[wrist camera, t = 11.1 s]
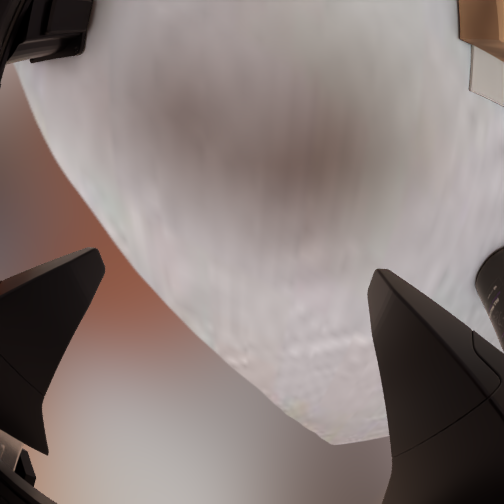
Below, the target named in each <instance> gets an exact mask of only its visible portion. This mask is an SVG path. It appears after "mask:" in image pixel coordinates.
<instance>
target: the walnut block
mask: <svg viewBox="0 0 504 504" xmlns="http://www.w3.org/2000/svg"><path fill="white" fill-rule="evenodd" d="M459 13H460V39H461V40H463V41H465V42H468V43H470V44H472V45H474V46H476V47H478V48H480V49H481V50H483V51H485V52H487V53H489V54H491V55H492V56H494V57H496V58H498V59H499V60H501V61H503V62H504V0H459Z"/></svg>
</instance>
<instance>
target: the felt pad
mask: <svg viewBox="0 0 504 504" xmlns="http://www.w3.org/2000/svg"><path fill="white" fill-rule="evenodd" d="M469 91H472V92H474V93H476V94H479V95H481V96H483V97H485V98H487V99H489V100H491V101H493V102H495V103H497V104H499V105H501V106H503V107H504V62H503V61H501V60H499V59H498V58H496V57H494V56H492V55H491V54H489V53H487V52H485V51H483V50H481V49H480V48H478V47H476V46H474V45H472V46H471V73H470V85H469Z"/></svg>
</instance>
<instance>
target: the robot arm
mask: <svg viewBox="0 0 504 504" xmlns="http://www.w3.org/2000/svg"><path fill="white" fill-rule="evenodd" d="M92 1H93V0H0V83H1V79H2V75H3V72H4V68H5V65H6V64H10V63H14V62H18V61H22V60H27V59H30V62H31V63H35V62H40V61H45V60H50V59H56V58H62V57H68V56H76V55H80V54H81V53H82V52H83V49H84V43H85V36H86V31H87V25H88V20H89V15H90V10H91V6H92ZM77 48H78V51H77ZM0 87H1V84H0ZM104 274H105V265H104V263H103V260H102V258H101V255H100V253H99V251H98V249H96V248H85V249H82V250H79V251H76V252H73V253H71V254H68V255H65V256H63V257H60V258H57V259H55V260H52V261H50V262H47V263H44V264H42V265H39V266H36V267H34V268H31V269H29V270H26V271H24V272H21V273H19V274H17V275H14V276H12V277H10V278H7V279H5V280H3V281H0V504H57V503H55V502H54V501H52V500H50V499H49V498H48V497H46V496H45V495H44V494H42V493H41V492H39V491H38V490H37V489H35V488H34V483H35V480H36V476H35V473H34V470H33V467H32V465H31V461H30V458H29V455H28V452H27V451H26V450H25V449H23V448H22V447H23V444H26V445H28V446H29V447H31V448H34V449H35V450H37V451H39V452H41V453H43V454H45V455H48V453H49V451H48V446H47V440H46V434H45V429H44V422H43V415H42V403H43V399H44V396H45V394H46V392H47V390H48V387H49V385H50V383H51V380H52V378H53V376H54V374H55V371H56V369H57V367H58V365H59V363H60V361H61V359H62V357H63V355H64V353H65V351H66V348H67V346H68V345H69V343H70V340H71V339H72V337H73V335H74V333H75V331H76V329H77V327H78V325H79V324H80V322H81V320H82V318H83V316H84V315H85V313H86V311H87V309H88V307H89V305H90V304H91V301H92V299H93V297H94V295H95V293H96V291H97V288H98V286H99V284H100V282H101V280H102V278H103V276H104ZM368 304H369V312H370V321H371V330H372V337H373V342H374V347H375V351H376V356H377V361H378V366H379V371H380V376H381V382H382V387H383V393H384V399H385V406H386V412H387V419H388V427H389V435H390V444H391V453H392V473H391V477H390V481H389V484H388V487H387V490H386V493H385V496H384V499H383V502H382V504H504V353H502V352H501V351H500V350H498V349H497V348H496V347H494V346H493V345H492V344H490V343H489V342H488V341H487V340H485V339H484V338H483V337H481V336H480V335H479V334H478V333H476V332H475V331H472V330H471V329H470V328H469V327H468V326H467V325H465V324H464V323H463V322H461V321H460V320H459V319H457V318H456V317H455V316H453V315H452V314H451V313H449V312H448V311H447V310H445V309H444V308H443V307H441V306H440V305H439V304H437V303H436V302H434V301H433V300H432V299H430V298H429V297H427V296H426V295H425V294H423V293H422V292H420V291H419V290H418V289H416V288H415V287H413V286H412V285H410V284H409V283H408V282H406V281H405V280H403V279H402V278H400V277H399V276H397V275H396V274H394V273H393V272H391V271H390V270H388V269H376V270H375V272H374V274H373V277H372V280H371V283H370V285H369V288H368Z"/></svg>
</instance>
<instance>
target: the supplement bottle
mask: <svg viewBox="0 0 504 504" xmlns="http://www.w3.org/2000/svg"><path fill="white" fill-rule="evenodd" d="M476 289H477V292H478V294H479V297H480V299H481V301H482V303H483V305H484V307H485V309H486V311H487V313H488V316H489V318H490V320H491V322H492V325H493V327H494V329H495V332H496V334H497V337H498V339H499V342H500V344H501V347H502V349H503V351H504V249H502V250H500V251H498V252H496V253H495V254H494V255H492V256H491V257H490V258H489V259H488V260H487V261H486V263H485V264H484V265H483V267H482V268H481V270H480V272H479V274H478V277H477V281H476Z"/></svg>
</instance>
